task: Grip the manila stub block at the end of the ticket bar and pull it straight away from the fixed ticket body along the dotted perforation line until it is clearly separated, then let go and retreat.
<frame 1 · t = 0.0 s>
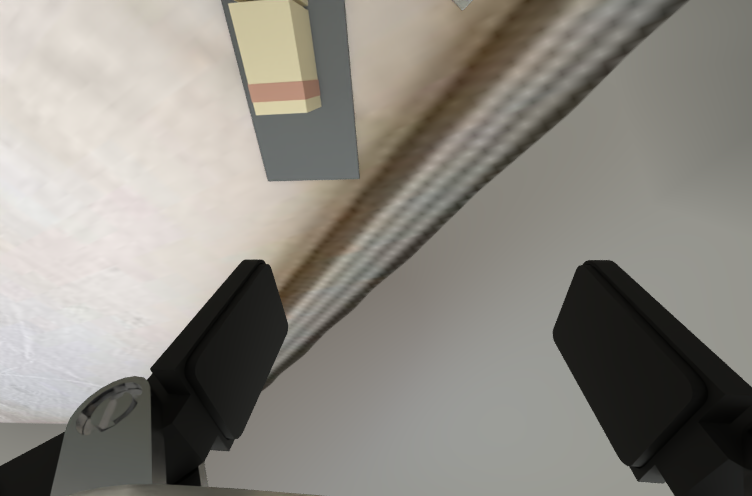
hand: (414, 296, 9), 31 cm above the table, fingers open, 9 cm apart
stub: (282, 62, 30), point 4 cm above the table, slide at 0.0 cm
mat: (288, 32, 31), on the table
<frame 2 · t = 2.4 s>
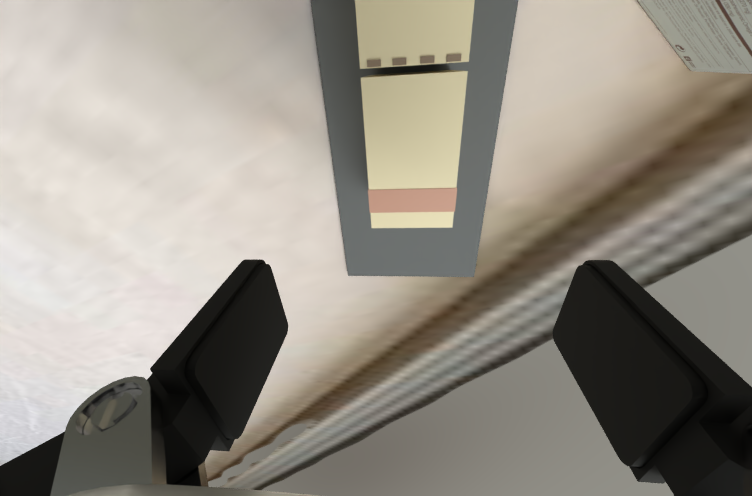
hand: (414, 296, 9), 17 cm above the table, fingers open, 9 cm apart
stub: (411, 149, 20), point 4 cm above the table, slide at 0.0 cm
mat: (410, 97, 21), on the table
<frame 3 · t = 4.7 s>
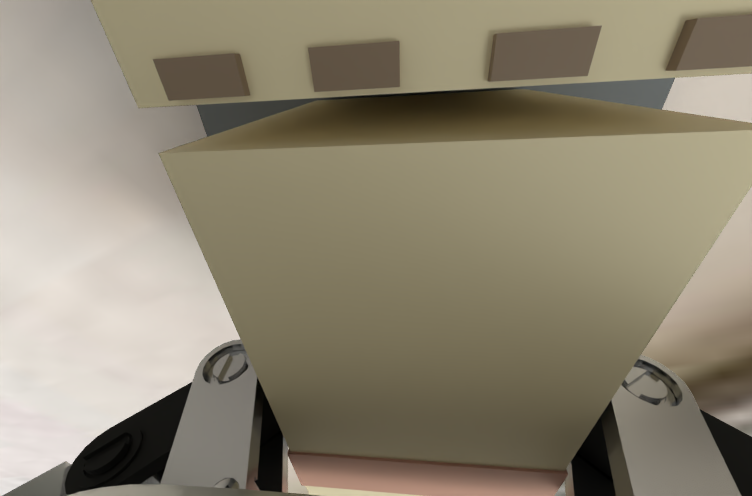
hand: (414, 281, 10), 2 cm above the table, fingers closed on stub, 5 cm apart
stub: (417, 297, 7), point 4 cm above the table, slide at 0.0 cm, touching gripper
mat: (414, 149, 9), on the table
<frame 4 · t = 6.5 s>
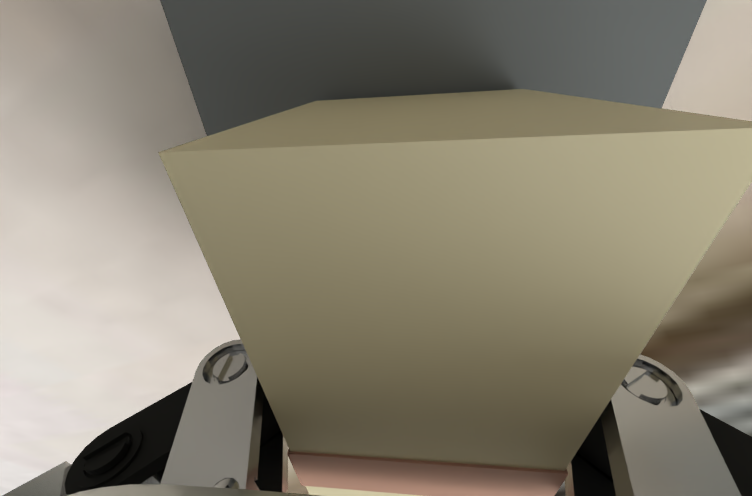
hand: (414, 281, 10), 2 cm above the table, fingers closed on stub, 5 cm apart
stub: (416, 297, 7), point 4 cm above the table, slide at 5.9 cm, touching gripper
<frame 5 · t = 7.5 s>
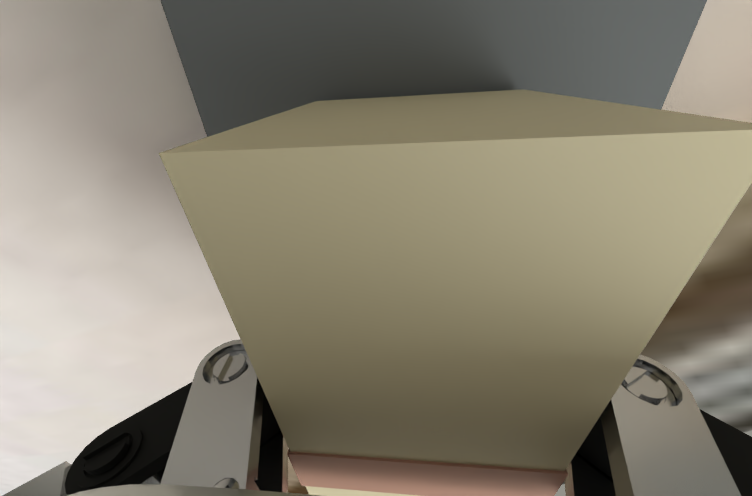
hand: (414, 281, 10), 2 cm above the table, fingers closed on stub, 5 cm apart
stub: (416, 298, 7), point 4 cm above the table, slide at 8.9 cm, touching gripper
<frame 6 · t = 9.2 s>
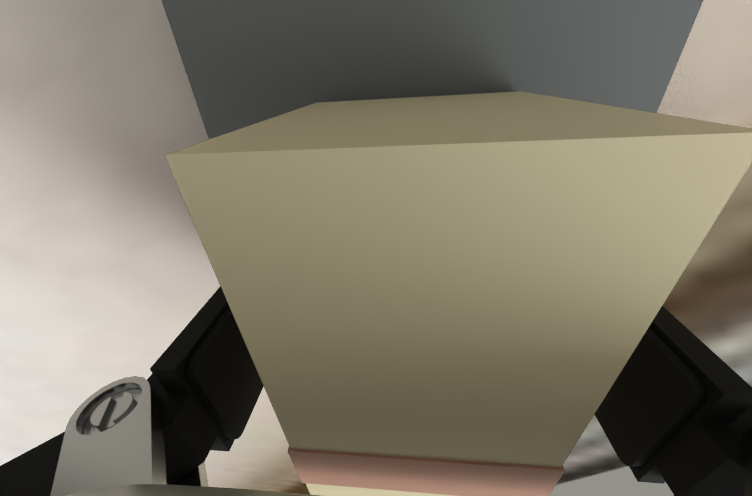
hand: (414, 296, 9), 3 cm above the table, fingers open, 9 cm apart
stub: (415, 297, 8), point 4 cm above the table, slide at 9.0 cm
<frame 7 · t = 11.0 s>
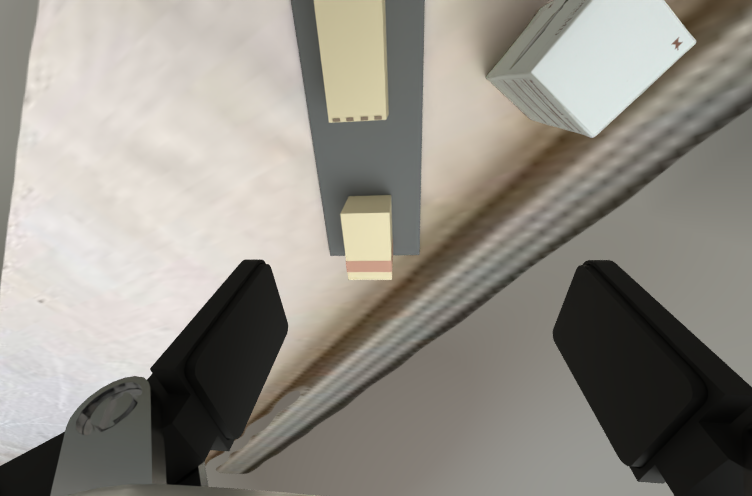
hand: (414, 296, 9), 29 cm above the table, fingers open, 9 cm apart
ticket body: (360, 41, 30), resting on mat
supplement box: (533, 68, 30), on the table
stub: (369, 237, 36), point 4 cm above the table, slide at 9.0 cm
mat: (366, 133, 34), on the table
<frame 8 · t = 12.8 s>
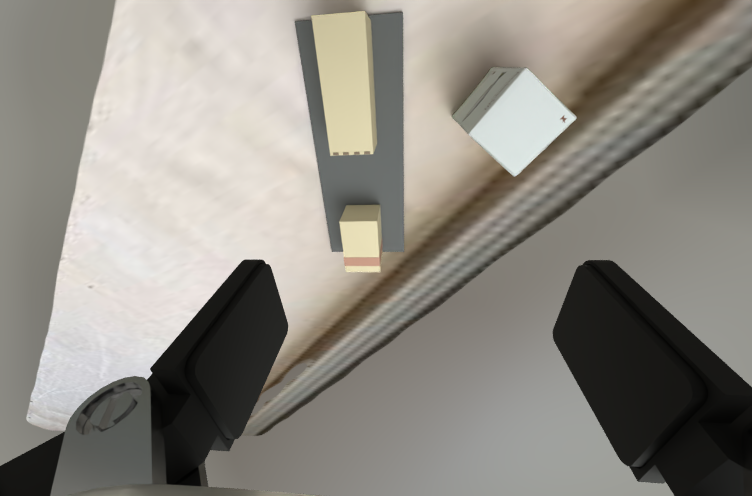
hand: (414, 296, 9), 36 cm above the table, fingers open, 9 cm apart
ticket body: (354, 88, 38), resting on mat
supplement box: (488, 110, 38), on the table
stub: (363, 238, 46), point 4 cm above the table, slide at 9.0 cm
mat: (360, 157, 43), on the table
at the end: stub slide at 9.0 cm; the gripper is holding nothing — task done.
